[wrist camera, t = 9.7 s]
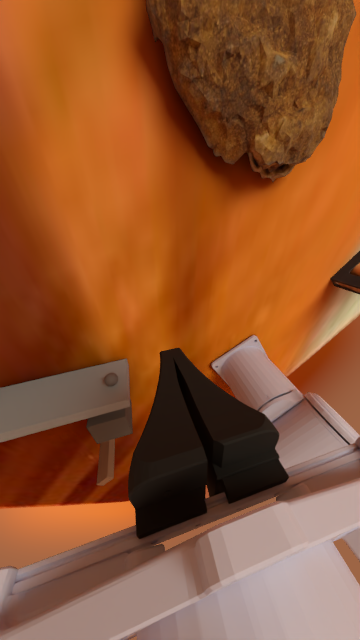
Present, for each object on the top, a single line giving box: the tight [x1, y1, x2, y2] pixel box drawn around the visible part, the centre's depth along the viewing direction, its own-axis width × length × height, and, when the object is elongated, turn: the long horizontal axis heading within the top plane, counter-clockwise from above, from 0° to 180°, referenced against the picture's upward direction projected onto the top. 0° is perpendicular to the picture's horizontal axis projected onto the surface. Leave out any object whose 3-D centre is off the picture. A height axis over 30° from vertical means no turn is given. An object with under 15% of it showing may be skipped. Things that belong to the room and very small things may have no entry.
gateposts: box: [97, 439, 115, 486], centre depth 21 cm, size 23×2×7 cm, turn 39°
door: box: [0, 359, 130, 442], centre depth 20 cm, size 14×3×6 cm, turn 95°
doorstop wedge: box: [86, 400, 133, 444], centre depth 25 cm, size 8×4×5 cm, turn 5°
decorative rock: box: [146, 0, 356, 182], centre depth 12 cm, size 11×4×15 cm
